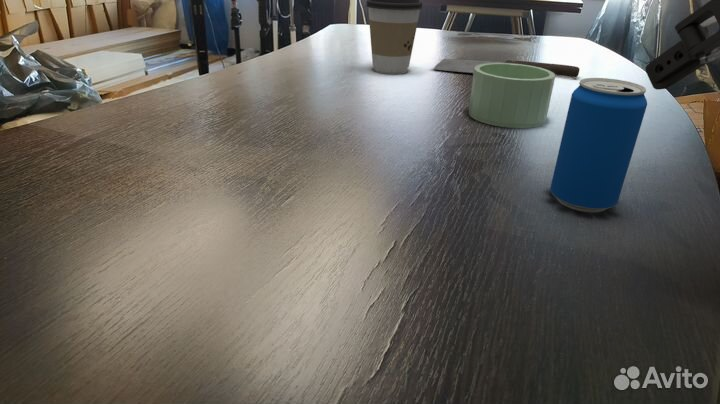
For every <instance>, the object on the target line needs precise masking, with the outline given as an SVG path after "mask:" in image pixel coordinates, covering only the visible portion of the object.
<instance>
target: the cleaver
mask: <svg viewBox="0 0 720 404" xmlns="http://www.w3.org/2000/svg"><path fill="white" fill-rule="evenodd" d="M486 63H513V64H523V65H530V66H535V67H540V68H543V69H546V70H549V71H551V72H553V73H555V76H561V77H569V78H577V77H578V76H579V75H580V67H578V66H575V65H567V64H558V63H549V62H537V61H536V62H535V61H527V60H513V59H512V60H510V59H509V60H507V59H506V60H505V61H492V60H491V61H489V60H477V59H461V58H443V59H442V60H441V61H439V62H438V63H437V64H436V65H435V66H434V68H433V70H435V71H445V72H447V71H448V72H455V73H457V72H458V73H468V74H473V73H474V68H475V66H477V65H480V64H486Z"/></svg>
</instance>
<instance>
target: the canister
mask: <svg viewBox="0 0 720 404" xmlns="http://www.w3.org/2000/svg"><path fill="white" fill-rule="evenodd" d="M555 80H556V75H555V73H553V72H551V71H549V70H546V69H543V68H540V67H535V66H530V65H523V64H513V63H486V64H480V65H477V66H475V68H474V73H472V81H471V88H470V89H471V90H470V96H469V103H468V115H469V117H470V118H471V119H473V120H475V121H476V122H477V121H478V122H480V123H483V124H486V125H489V126H493V127H499V128H500V127H501V128H508V129H531V128H537V127H540V126H543V125H544V124H545V123H546V121H547V118H548V113H549V108H550V104H551V98H552V93H553V89H554V85H555Z"/></svg>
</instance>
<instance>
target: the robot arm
mask: <svg viewBox="0 0 720 404" xmlns="http://www.w3.org/2000/svg"><path fill="white" fill-rule="evenodd" d="M674 29H675V31H676V33H677V35H678V37H679V38H680V40H679V41H678V42H677V43H675V44H674V45H672V46H671V47H669V48H668V49H666V50H665V51H664V52H662V53H661V54H660V55H658V56H657V57H655V58H654V59H653V60H651V61H649V62H648V63H647V64H646V65H645V73H646V75H647V77H648V80H649V81H650V84H651V87H652V88H653V89H654V90H666V89H668V88H670V87H671V86H673V85H674V84H675V85H676V83H678V82H680V81H681V80H683V79H684V78H686V77H687V76H689V75H691V74H692V73H694V72H696V71H697V70H699V69H700V68H702V67H704V66H705V65H707V64H708V63H712V62H713V61H715V60H717V59H719V58H720V0H709V1H708V2H706V3H705V4H703V5H702V6H700V7H699V8H698V9H696V10H695V11H693V12H692V13H691V14H689V15H688V16H687V17H685V18H684V19H682V20H680V22H678V23H677V24H676V25H675V26H674ZM716 29H718V31H717V32H715V33H713V34H712V35H711V33H710V32H711V31H714V30H716ZM718 64H719V65H720V62H719V63H718Z"/></svg>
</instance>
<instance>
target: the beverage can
mask: <svg viewBox="0 0 720 404" xmlns="http://www.w3.org/2000/svg"><path fill="white" fill-rule="evenodd" d="M578 84H579V85H578V86H577V87H576V88H575V89H574V90H573V92H572V93H571V96H570V100H569V105H568V109H567V114H566V117H565V122H564V127H563V131H562V134H561V140H560V145H559V148H558V153H557V158H556V162H555V165H554V170H553V175H552V180H551V184H550V187H549V190H550V192H551V195H553V196H554V198H556V200H557V201H558V202H559V203H560V204H561V205H563V206H565V207H567V208H569V209H572V210H575V211H579V212H584V213H601V212H604V211H606V210H608V209H611V208H613V207H616V206H617V204H618V203H619V199H620V196H621V194H622V190H623V186H624V183H625V179H626V176H627V173H628V170H629V167H630V163H631V160H632V158H633V153H634V150H635V146H636V144H637V141H638V137H639V133H640V130H641V127H642V123H643V120H644V117H645V114H646V110H647V106H648V99H647V97H646V96H645V93H646V92H647V88H646V87H645V86H643V85H641V84H639V83H636V82H631V81H627V80H622V79H616V78H607V77H587V78H582V79H580V80H579V82H578Z"/></svg>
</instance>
